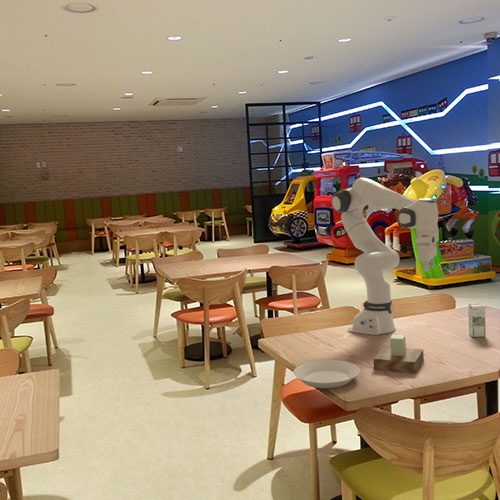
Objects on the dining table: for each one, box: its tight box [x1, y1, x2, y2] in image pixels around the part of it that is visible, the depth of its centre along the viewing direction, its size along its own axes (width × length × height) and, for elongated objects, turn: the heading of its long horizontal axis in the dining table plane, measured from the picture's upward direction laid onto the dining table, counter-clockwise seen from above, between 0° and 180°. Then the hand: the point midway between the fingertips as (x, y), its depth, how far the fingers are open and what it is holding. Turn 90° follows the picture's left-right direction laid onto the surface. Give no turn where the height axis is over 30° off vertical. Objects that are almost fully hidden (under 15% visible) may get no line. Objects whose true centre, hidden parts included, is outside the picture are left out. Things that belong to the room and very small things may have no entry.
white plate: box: [292, 359, 361, 389], centre depth 219 cm, size 25×25×4 cm
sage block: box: [389, 334, 407, 356], centre depth 228 cm, size 5×5×7 cm
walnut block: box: [372, 346, 425, 374], centre depth 229 cm, size 16×16×5 cm
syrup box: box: [468, 302, 487, 338], centre depth 258 cm, size 6×6×14 cm
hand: (428, 269), depth 243 cm, fingers open, 8 cm apart
